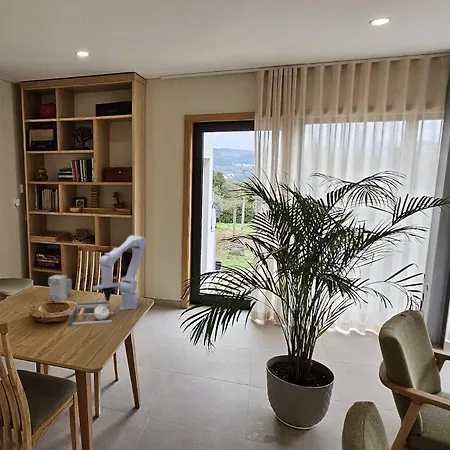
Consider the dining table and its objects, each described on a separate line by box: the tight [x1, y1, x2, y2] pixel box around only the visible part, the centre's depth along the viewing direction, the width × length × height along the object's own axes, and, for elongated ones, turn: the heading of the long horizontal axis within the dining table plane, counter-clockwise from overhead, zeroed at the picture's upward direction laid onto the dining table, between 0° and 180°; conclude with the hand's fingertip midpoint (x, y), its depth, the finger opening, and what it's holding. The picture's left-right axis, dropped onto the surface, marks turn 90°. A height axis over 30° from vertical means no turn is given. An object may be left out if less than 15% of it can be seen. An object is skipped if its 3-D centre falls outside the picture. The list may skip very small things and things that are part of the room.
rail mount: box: [68, 300, 115, 327], centre depth 176 cm, size 21×16×6 cm
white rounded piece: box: [93, 305, 110, 321], centre depth 175 cm, size 8×8×8 cm
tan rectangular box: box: [78, 308, 86, 322], centre depth 173 cm, size 2×8×5 cm, turn 14°
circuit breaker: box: [47, 274, 73, 302], centre depth 203 cm, size 8×14×15 cm, turn 174°
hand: (107, 300), depth 178 cm, fingers closed
